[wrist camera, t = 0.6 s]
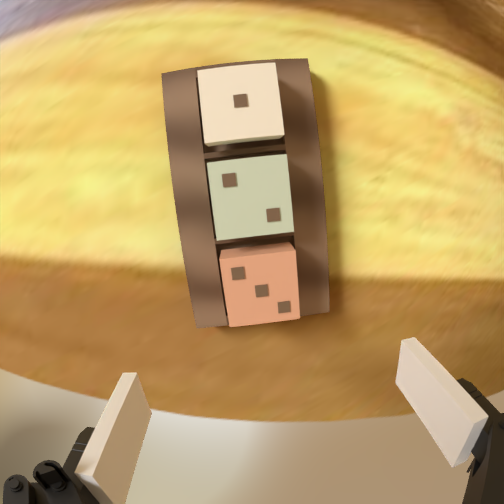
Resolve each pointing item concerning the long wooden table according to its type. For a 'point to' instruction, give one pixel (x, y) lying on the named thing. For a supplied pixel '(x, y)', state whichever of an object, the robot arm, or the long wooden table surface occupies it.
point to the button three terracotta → (260, 284)
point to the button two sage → (251, 196)
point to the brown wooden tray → (199, 154)
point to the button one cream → (240, 104)
